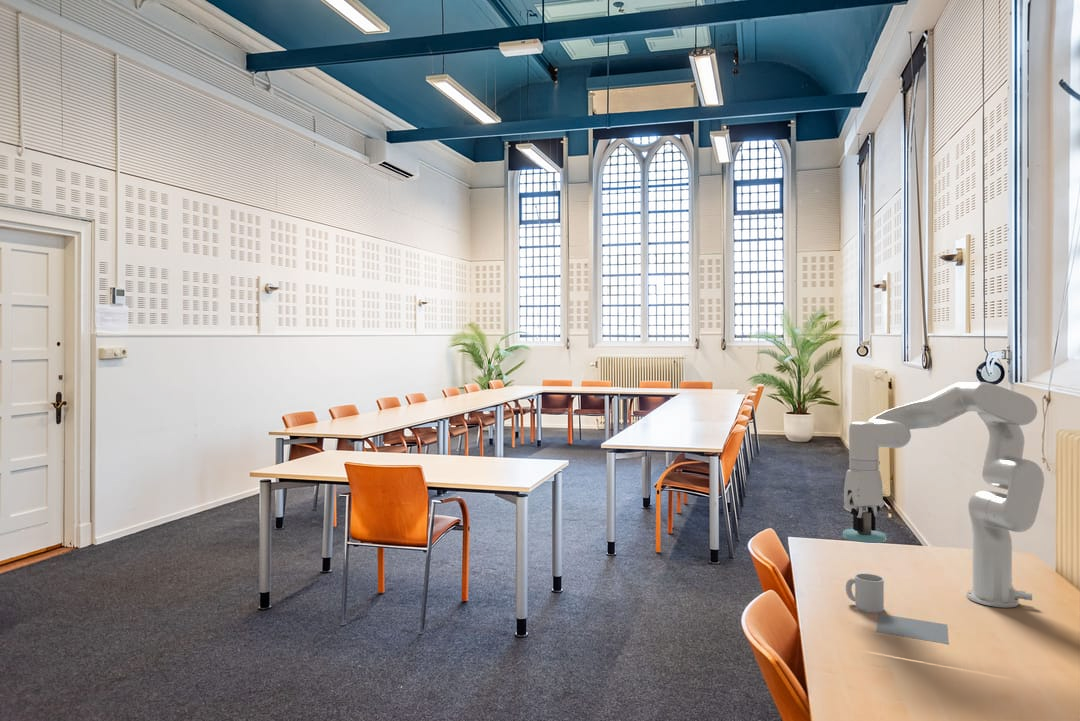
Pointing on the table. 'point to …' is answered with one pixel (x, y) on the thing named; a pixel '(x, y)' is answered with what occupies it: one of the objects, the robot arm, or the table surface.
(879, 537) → the lid
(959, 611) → the table surface
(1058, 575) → the table surface
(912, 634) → the mat
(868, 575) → the cup
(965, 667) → the table surface
